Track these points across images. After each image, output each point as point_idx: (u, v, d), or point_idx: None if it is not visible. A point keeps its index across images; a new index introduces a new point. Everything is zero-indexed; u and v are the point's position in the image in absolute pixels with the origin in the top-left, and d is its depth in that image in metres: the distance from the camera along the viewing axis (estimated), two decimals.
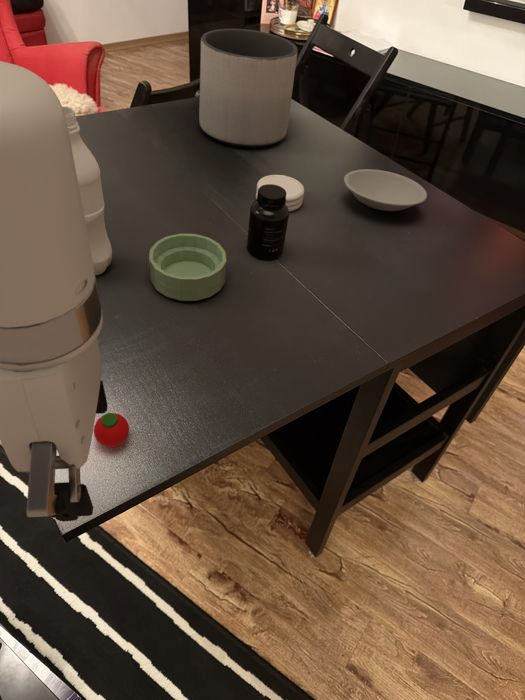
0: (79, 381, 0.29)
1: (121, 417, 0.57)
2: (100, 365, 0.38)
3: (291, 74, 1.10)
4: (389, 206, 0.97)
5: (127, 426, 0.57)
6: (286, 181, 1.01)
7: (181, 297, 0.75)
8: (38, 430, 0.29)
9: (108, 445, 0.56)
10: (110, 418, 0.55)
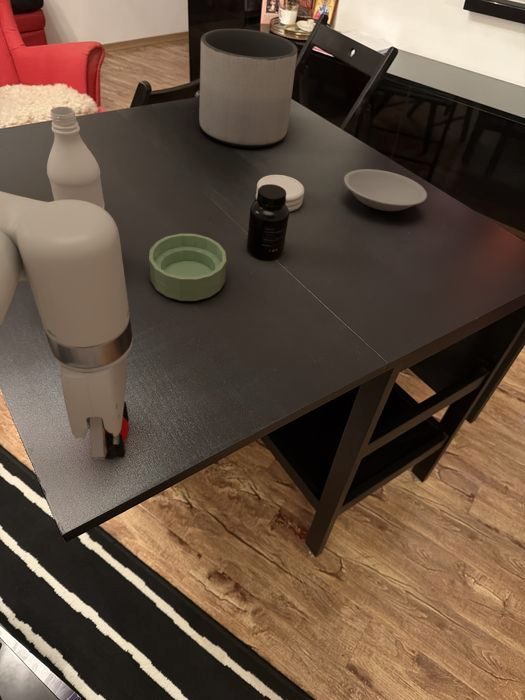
0: (118, 379, 0.46)
1: None
2: None
3: (291, 74, 1.10)
4: (389, 206, 0.97)
5: (127, 426, 0.57)
6: (286, 181, 1.01)
7: (181, 297, 0.75)
8: (93, 409, 0.46)
9: None
10: None
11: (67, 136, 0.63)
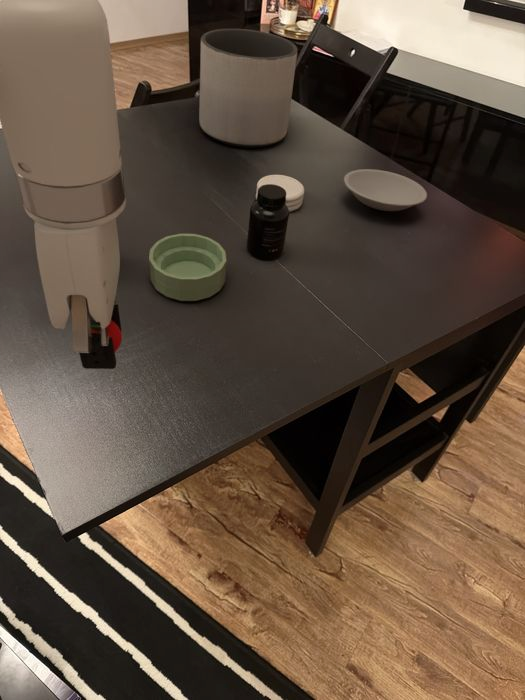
0: (106, 248, 0.38)
1: (112, 322, 0.48)
2: (119, 259, 0.46)
3: (291, 74, 1.10)
4: (389, 206, 0.97)
5: (119, 333, 0.48)
6: (286, 181, 1.01)
7: (181, 297, 0.75)
8: (75, 283, 0.37)
9: None
10: None
11: None
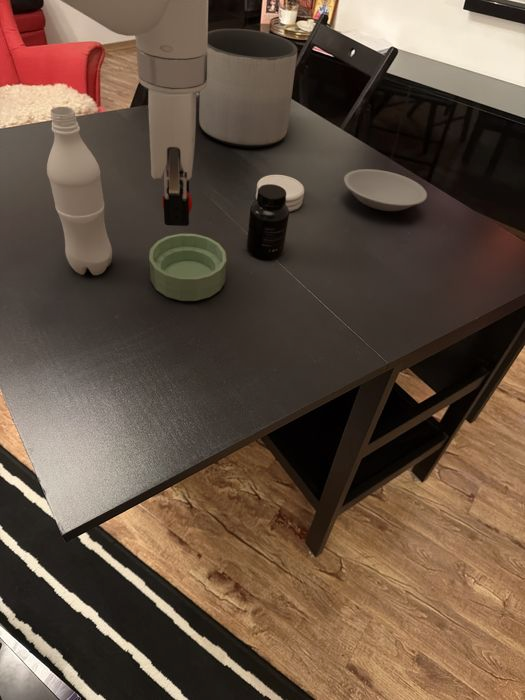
0: (194, 114, 0.54)
1: None
2: None
3: (291, 74, 1.10)
4: (389, 206, 0.97)
5: (191, 199, 0.64)
6: (286, 181, 1.01)
7: (181, 297, 0.75)
8: (174, 137, 0.53)
9: None
10: None
11: (67, 136, 0.63)
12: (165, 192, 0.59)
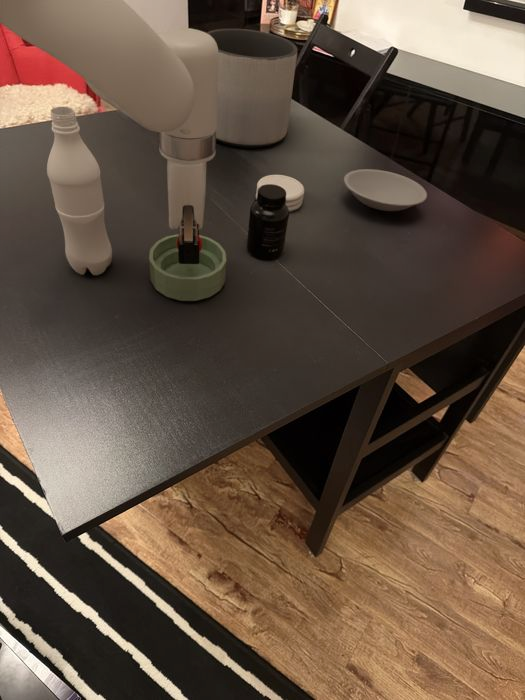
0: (205, 178, 0.65)
1: None
2: None
3: (291, 74, 1.10)
4: (389, 206, 0.97)
5: (201, 241, 0.75)
6: (286, 181, 1.01)
7: (181, 297, 0.75)
8: (188, 197, 0.64)
9: None
10: None
11: (67, 136, 0.63)
12: (180, 238, 0.71)
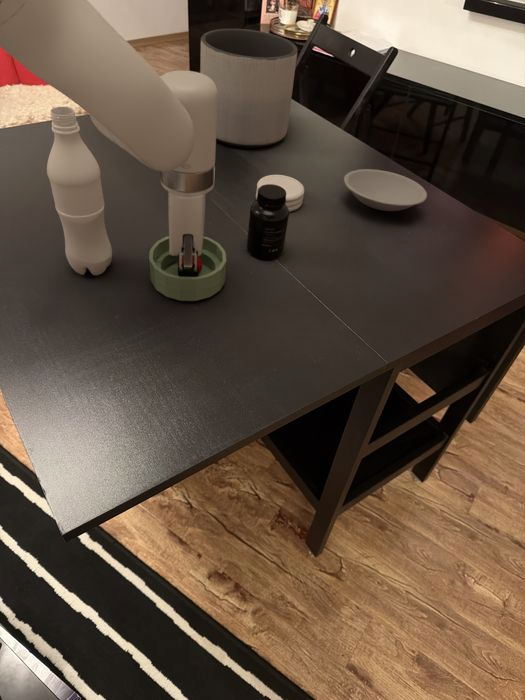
0: (204, 208, 0.68)
1: None
2: None
3: (291, 74, 1.10)
4: (389, 206, 0.97)
5: (201, 262, 0.79)
6: (286, 181, 1.01)
7: (181, 297, 0.75)
8: (188, 227, 0.67)
9: None
10: None
11: (67, 136, 0.63)
12: (180, 265, 0.73)
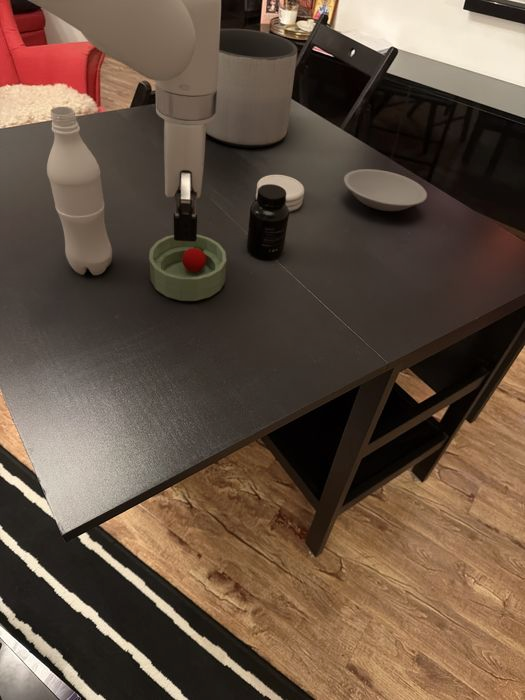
0: (204, 142, 0.61)
1: None
2: None
3: (291, 74, 1.10)
4: (389, 206, 0.97)
5: None
6: (286, 181, 1.01)
7: (181, 297, 0.75)
8: (186, 161, 0.60)
9: (194, 257, 0.78)
10: None
11: (67, 136, 0.63)
12: (176, 208, 0.64)
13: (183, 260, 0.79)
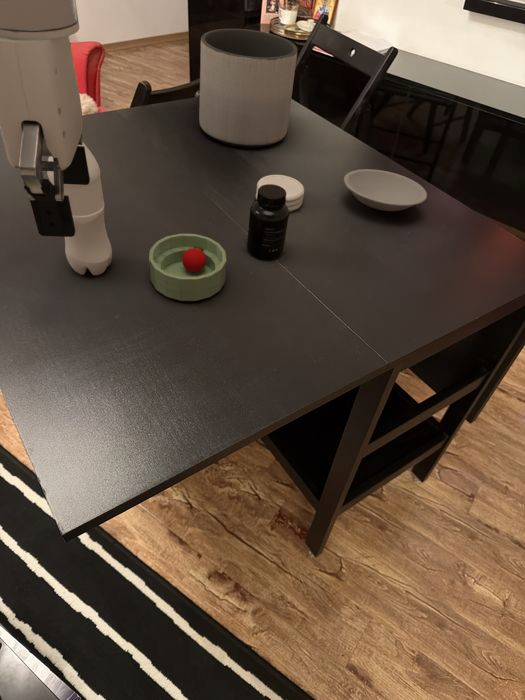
0: (60, 73, 0.37)
1: None
2: (81, 115, 0.46)
3: (291, 74, 1.10)
4: (389, 206, 0.97)
5: None
6: (286, 181, 1.01)
7: (181, 297, 0.75)
8: (28, 105, 0.37)
9: (194, 257, 0.78)
10: None
11: None
12: None
13: (183, 260, 0.79)
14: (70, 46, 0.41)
